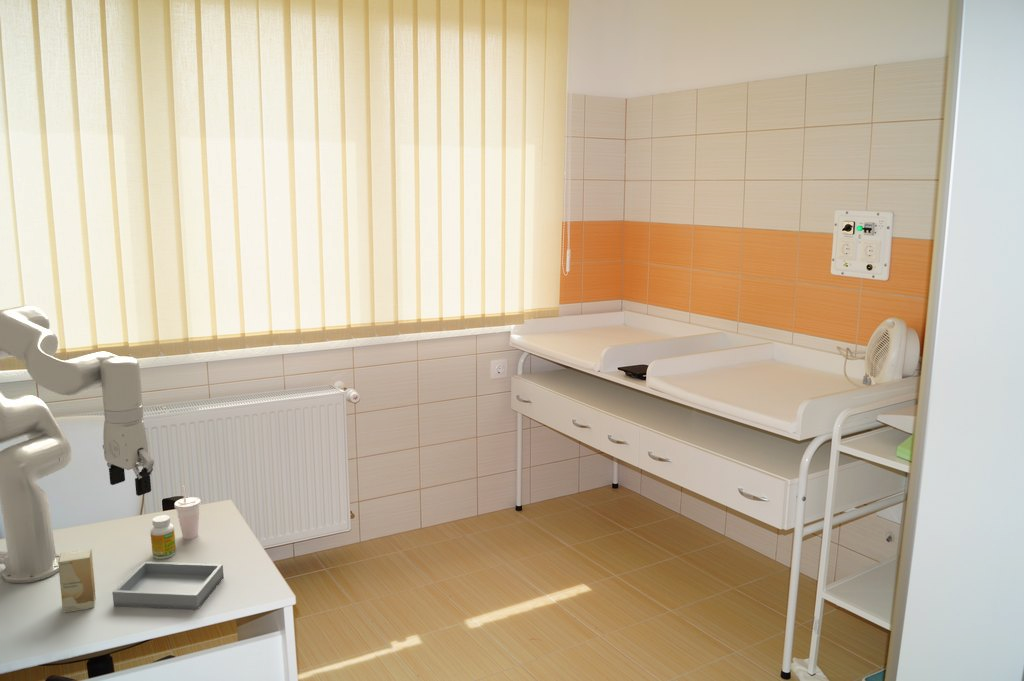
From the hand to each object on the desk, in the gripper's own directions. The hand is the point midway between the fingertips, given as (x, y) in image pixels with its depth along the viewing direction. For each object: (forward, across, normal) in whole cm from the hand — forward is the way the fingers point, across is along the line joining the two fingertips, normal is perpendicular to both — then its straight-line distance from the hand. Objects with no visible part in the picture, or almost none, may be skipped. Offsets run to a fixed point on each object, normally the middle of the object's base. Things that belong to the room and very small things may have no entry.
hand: (130, 488), depth 172 cm
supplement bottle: (+26, -12, +14) cm, 32 cm away
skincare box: (+26, -6, -10) cm, 29 cm away
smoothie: (+26, -15, +24) cm, 38 cm away
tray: (+25, +6, +4) cm, 26 cm away
